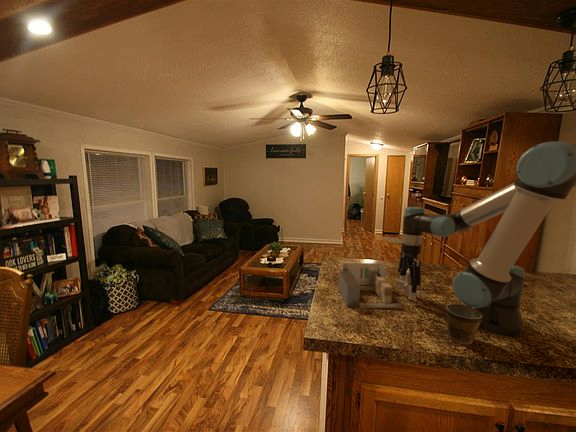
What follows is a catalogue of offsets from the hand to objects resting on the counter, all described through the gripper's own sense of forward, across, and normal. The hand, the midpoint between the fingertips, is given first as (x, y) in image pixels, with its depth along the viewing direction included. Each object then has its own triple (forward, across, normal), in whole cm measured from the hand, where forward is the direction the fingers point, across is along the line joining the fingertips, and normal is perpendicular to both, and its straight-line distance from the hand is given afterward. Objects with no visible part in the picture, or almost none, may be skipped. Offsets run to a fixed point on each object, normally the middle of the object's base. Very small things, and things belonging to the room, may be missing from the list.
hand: (406, 294), depth 119 cm
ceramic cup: (+3, -28, -4) cm, 28 cm away
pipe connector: (+1, 0, 0) cm, 1 cm away
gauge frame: (+2, +1, +17) cm, 17 cm away
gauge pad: (+1, +2, +11) cm, 11 cm away
